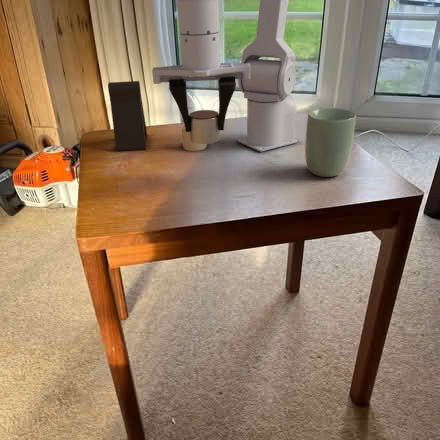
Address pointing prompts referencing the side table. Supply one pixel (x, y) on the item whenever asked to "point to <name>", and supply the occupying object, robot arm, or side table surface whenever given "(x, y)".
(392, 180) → the side table surface
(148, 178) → the side table surface
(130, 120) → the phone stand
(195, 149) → the pale yellow short cylinder
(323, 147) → the cup
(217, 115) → the cylinder
